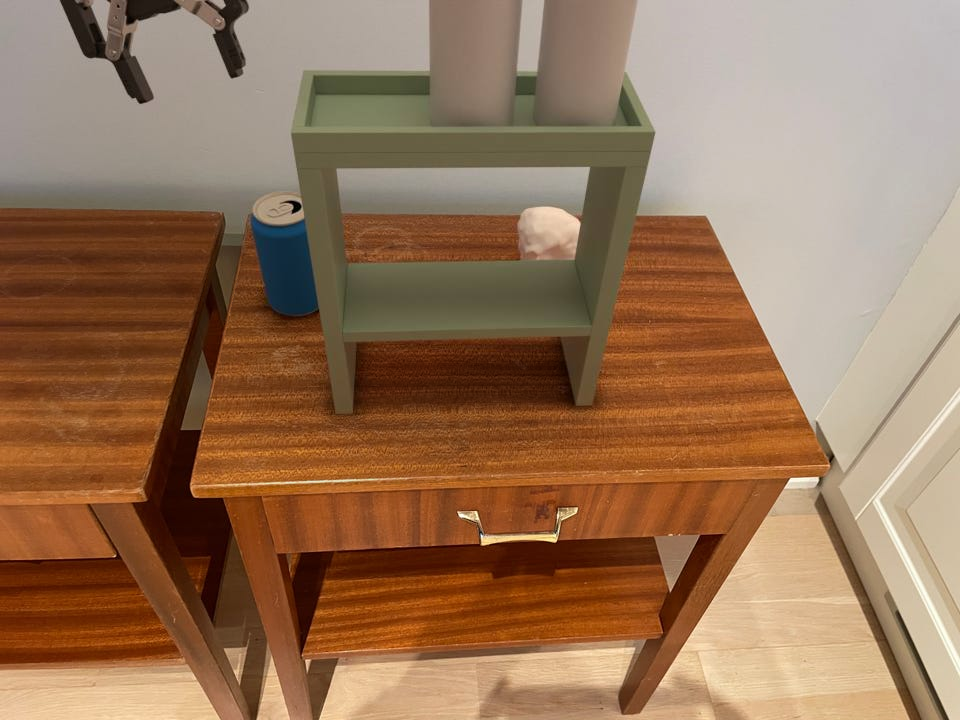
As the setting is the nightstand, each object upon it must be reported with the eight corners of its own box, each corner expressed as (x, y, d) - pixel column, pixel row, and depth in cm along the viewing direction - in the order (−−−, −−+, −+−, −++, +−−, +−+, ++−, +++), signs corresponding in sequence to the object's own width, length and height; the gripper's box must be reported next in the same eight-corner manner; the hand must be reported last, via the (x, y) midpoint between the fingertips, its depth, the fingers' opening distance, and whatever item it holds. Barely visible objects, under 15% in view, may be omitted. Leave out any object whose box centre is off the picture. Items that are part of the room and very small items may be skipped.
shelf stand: (335, 414, 68) (296, 169, 49) (340, 345, 74) (308, 104, 56) (591, 405, 70) (647, 166, 51) (575, 338, 76) (620, 104, 58)
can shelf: (296, 169, 49) (262, -44, 40) (308, 104, 56) (281, -93, 46) (647, 166, 51) (695, -36, 42) (620, 104, 58) (655, -84, 48)
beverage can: (341, 303, 79) (329, 210, 70) (288, 329, 76) (269, 235, 67) (309, 273, 82) (294, 181, 73) (257, 297, 79) (235, 203, 70)
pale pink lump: (518, 193, 79) (622, 198, 81) (505, 255, 85) (603, 259, 87) (528, 227, 75) (638, 232, 77) (514, 290, 81) (616, 293, 83)
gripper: (-11, -101, 53) (100, 119, 62) (169, -158, 52) (259, 74, 60) (38, -97, 60) (133, 102, 68) (199, -148, 59) (277, 61, 67)
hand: (192, 89), depth 64 cm, fingers open, 8 cm apart
